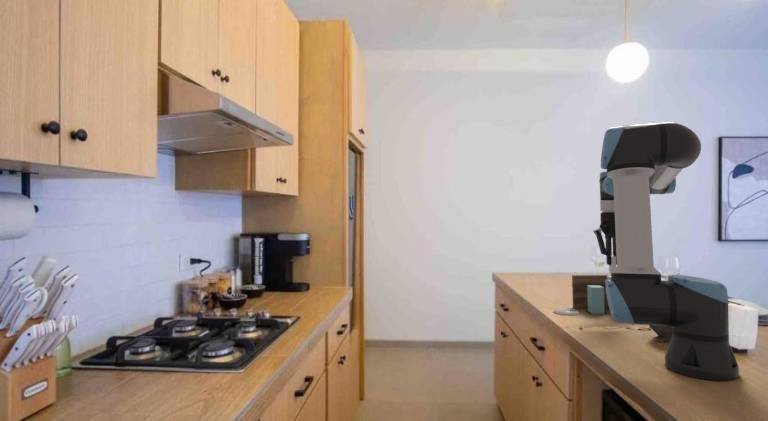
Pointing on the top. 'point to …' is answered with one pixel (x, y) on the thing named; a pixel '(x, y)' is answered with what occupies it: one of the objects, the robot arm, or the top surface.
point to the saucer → (566, 311)
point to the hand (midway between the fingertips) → (612, 273)
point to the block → (595, 299)
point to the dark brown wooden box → (581, 290)
